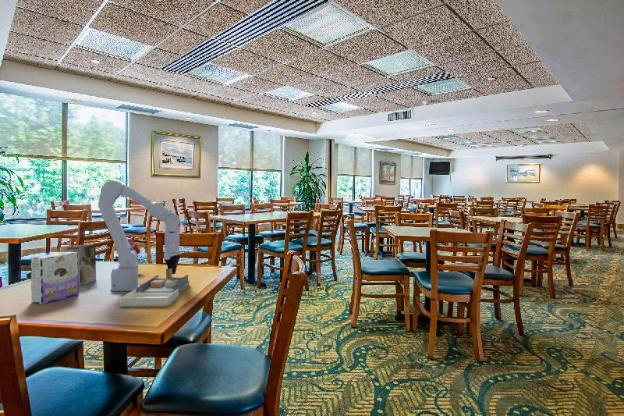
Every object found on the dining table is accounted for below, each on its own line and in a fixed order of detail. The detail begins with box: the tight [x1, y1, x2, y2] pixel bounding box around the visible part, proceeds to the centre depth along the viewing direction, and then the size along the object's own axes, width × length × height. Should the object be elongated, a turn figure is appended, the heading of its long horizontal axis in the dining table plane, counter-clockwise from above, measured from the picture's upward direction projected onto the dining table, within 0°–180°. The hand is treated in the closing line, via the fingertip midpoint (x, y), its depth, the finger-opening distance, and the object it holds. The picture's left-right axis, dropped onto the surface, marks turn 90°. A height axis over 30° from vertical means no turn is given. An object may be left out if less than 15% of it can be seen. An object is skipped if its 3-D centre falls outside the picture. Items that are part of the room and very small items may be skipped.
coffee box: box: [66, 244, 97, 286], centre depth 162 cm, size 9×6×16 cm
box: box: [119, 289, 180, 308], centre depth 136 cm, size 16×12×3 cm
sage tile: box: [165, 280, 179, 287], centre depth 150 cm, size 4×4×2 cm
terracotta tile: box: [151, 280, 165, 287], centre depth 150 cm, size 4×4×2 cm
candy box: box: [30, 251, 80, 305], centre depth 138 cm, size 14×6×16 cm, turn 157°
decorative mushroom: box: [128, 241, 141, 255], centre depth 182 cm, size 10×9×15 cm
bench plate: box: [138, 274, 190, 295], centre depth 150 cm, size 14×17×4 cm
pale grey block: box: [155, 267, 184, 282], centre depth 155 cm, size 11×2×5 cm, turn 92°
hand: (172, 273), depth 159 cm, fingers closed
